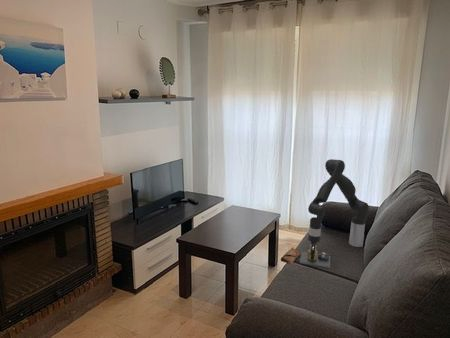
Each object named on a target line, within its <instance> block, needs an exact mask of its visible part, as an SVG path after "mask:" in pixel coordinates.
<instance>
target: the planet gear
mask: <svg viewBox="0 0 450 338" xmlns="http://www.w3.org/2000/svg"><path fill="white" fill-rule="evenodd" d="M307 252H308V257H307V258H308V259H309V260H311V259H310V258H311V254H310V253H311V250H310V249H308V250H307ZM312 253H313V252H312ZM318 253H319V251H318V250H317V249H316V251H315V255H314V260H317V254H318ZM314 260H313V261H314Z"/></svg>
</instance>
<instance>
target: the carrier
mask: <svg viewBox="0 0 450 338" xmlns="http://www.w3.org/2000/svg"><path fill="white" fill-rule="evenodd" d="M300 253H301V256H300V257H299V264H302V265H303V264H304V265H309V266H310V265H311V266H316V267H322V268H327V269H331V255H330V254H329V253H327V252H325V251H320V252H318V253H317V260H314V261H313V260H309V259H308V258H307V257H308V251H301V252H300ZM313 253H314V252H313Z"/></svg>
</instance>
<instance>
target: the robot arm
mask: <svg viewBox="0 0 450 338" xmlns="http://www.w3.org/2000/svg"><path fill="white" fill-rule="evenodd" d="M324 166H325V170H326V172H327V173H328V175H329V176H330V177H329V178H328V180H326V181H325V182H324V183H323V184H322V185H321V186H320V187H319V189H318V192H317V194H316V196H315V197H314V199H312V201H311V202H310V204H309V205H308V208H307V209H308V213H310V214H311V215H315V216H316V217H311V218H310V219H309V228H308V238H307V240H308V241H309V242H310V245H309V246H310V250H311V253H310V254H311V258H310V259H311V260H314V255H315V251H316V250H317V246H318V244H317V243H320V242H321V234H322V222H323V219H324V217H325V213H326V210H327V209H326V207H325V206H324V205H322V204H323V203H324V204H325V203H327V201H328V199H329V197H330V194H331V193H332V191H333V188H334V187H335V185H337V186H338V188H339V190H340V192H341V193H342V194H343V196H344V198H345V200H346V201H347V203H348V205H349V208H350V209H351V211H352V212H354V213H356V214H357V216H353V217H351V223H350V232H349V240H348V244H349V245H350V247H351V246H352V247H356V248H363V245H364V238H365V229H366V228H365V227H366V222H367V219H368V215H369V214H368V213H369V207H370V206H369V204H368V202H365V201H364V200H363V201H362V200H360V199H359V198H358V197H357V196H356V187H355V184H354V183H353V181H352V180H351V179H350V178H349V177H347V176H346V175H344V174H343V173H344V171H345V169H346V164H345V162H344V160H342V159H332V158H331V159H328V160H326V161H325V164H324ZM321 203H322V204H321ZM312 252H314V253H312Z"/></svg>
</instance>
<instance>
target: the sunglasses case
mask: <svg viewBox="0 0 450 338" xmlns="http://www.w3.org/2000/svg"><path fill="white" fill-rule="evenodd" d="M300 257H301V252H299V250H297V249H296V248H294V247H291V248H290V249H289V250H288V251H287V252H285V254H283V255H282V257H281V258H280V261H281V263H282V262H283V263H286V264H288V265H294V263H295V261H297V259H299V258H300Z"/></svg>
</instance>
